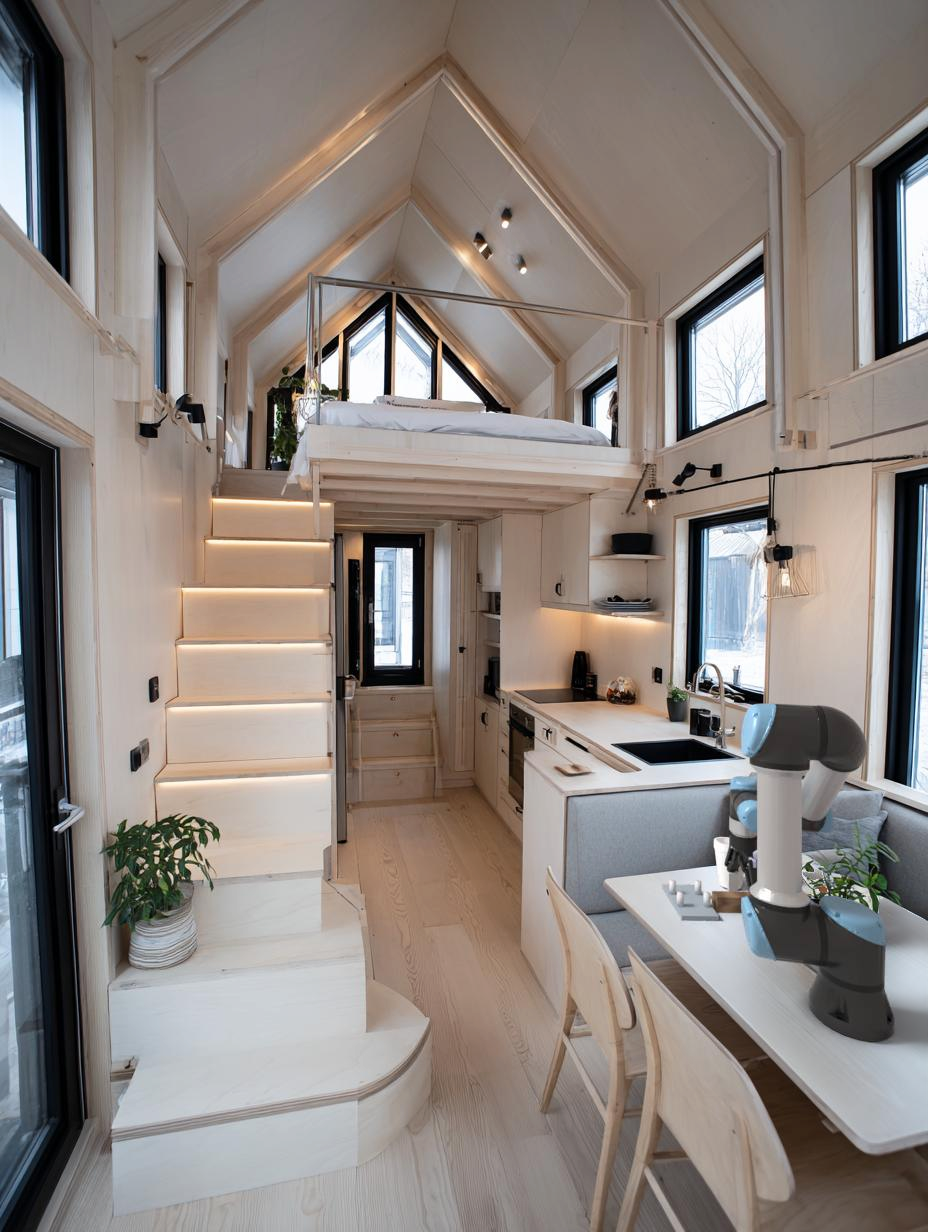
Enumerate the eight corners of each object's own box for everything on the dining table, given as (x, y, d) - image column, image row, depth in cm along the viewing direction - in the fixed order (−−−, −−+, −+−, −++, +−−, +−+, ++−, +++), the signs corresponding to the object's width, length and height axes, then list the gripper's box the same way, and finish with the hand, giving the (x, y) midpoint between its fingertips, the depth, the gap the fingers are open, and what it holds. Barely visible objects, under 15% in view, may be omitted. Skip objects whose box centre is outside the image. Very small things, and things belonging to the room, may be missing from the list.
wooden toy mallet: (718, 914, 168) (718, 899, 168) (710, 904, 174) (710, 889, 174) (784, 915, 168) (784, 900, 168) (774, 905, 173) (774, 890, 173)
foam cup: (747, 883, 187) (747, 840, 188) (747, 893, 179) (748, 848, 179) (713, 877, 191) (714, 835, 192) (712, 887, 182) (713, 843, 183)
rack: (719, 920, 165) (719, 903, 165) (681, 920, 165) (682, 902, 165) (695, 888, 183) (696, 873, 183) (662, 888, 183) (662, 872, 183)
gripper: (779, 852, 157) (777, 932, 159) (738, 816, 182) (737, 885, 183) (750, 852, 158) (748, 932, 159) (713, 816, 183) (712, 885, 184)
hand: (742, 907), depth 171 cm, fingers open, 13 cm apart
